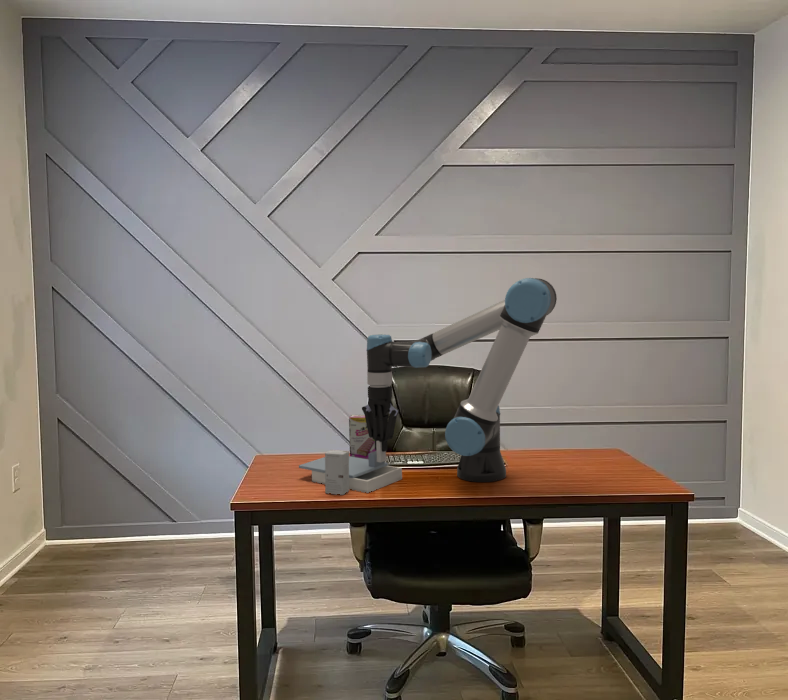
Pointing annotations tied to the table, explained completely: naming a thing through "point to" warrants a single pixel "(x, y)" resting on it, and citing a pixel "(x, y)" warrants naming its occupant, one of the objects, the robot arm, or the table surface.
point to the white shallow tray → (367, 479)
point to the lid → (355, 465)
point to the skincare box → (337, 472)
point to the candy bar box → (360, 437)
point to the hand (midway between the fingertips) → (381, 461)
